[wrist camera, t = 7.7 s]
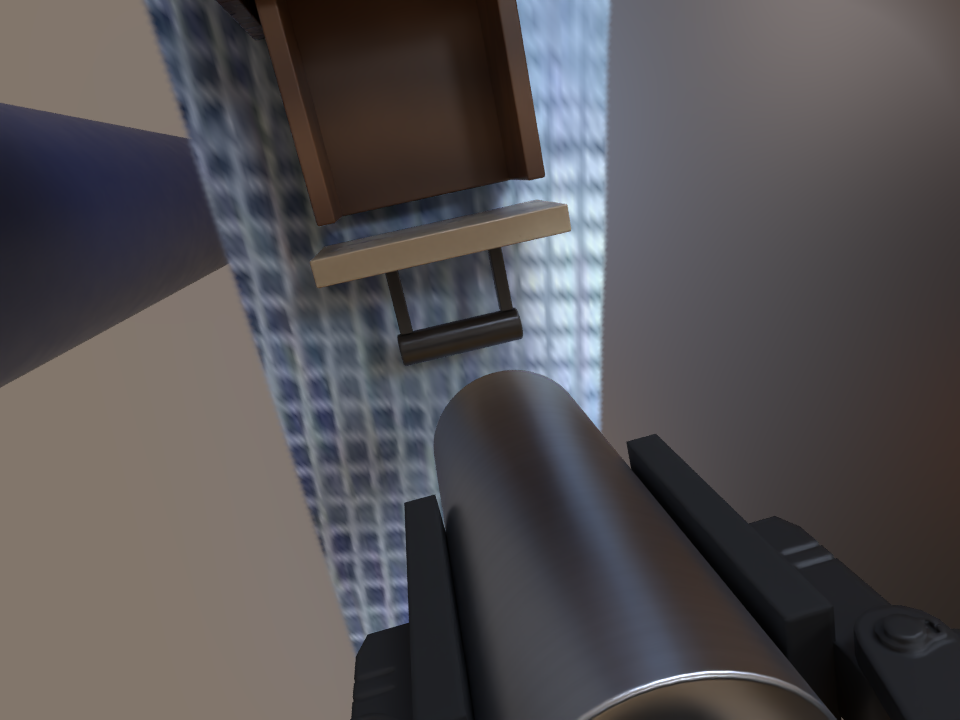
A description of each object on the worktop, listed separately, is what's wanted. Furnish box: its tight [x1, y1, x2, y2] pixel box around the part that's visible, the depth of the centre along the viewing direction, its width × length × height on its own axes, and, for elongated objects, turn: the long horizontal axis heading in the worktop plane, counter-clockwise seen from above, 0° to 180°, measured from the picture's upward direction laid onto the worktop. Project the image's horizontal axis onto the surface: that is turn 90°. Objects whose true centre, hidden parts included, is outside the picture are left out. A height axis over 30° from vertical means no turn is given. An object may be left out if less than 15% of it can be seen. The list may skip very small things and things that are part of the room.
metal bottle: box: [434, 370, 837, 720], centre depth 13 cm, size 5×5×13 cm
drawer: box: [255, 0, 571, 366], centre depth 29 cm, size 18×11×6 cm, turn 12°
